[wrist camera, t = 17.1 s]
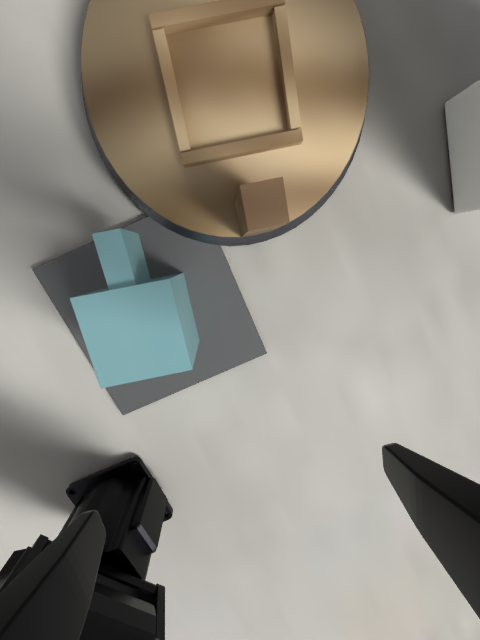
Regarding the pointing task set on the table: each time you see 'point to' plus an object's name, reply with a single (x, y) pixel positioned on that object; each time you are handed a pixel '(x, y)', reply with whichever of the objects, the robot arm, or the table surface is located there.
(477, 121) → the milk carton
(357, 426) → the table surface
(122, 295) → the blue cube with post
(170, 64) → the turntable
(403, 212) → the table surface
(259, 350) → the mat
